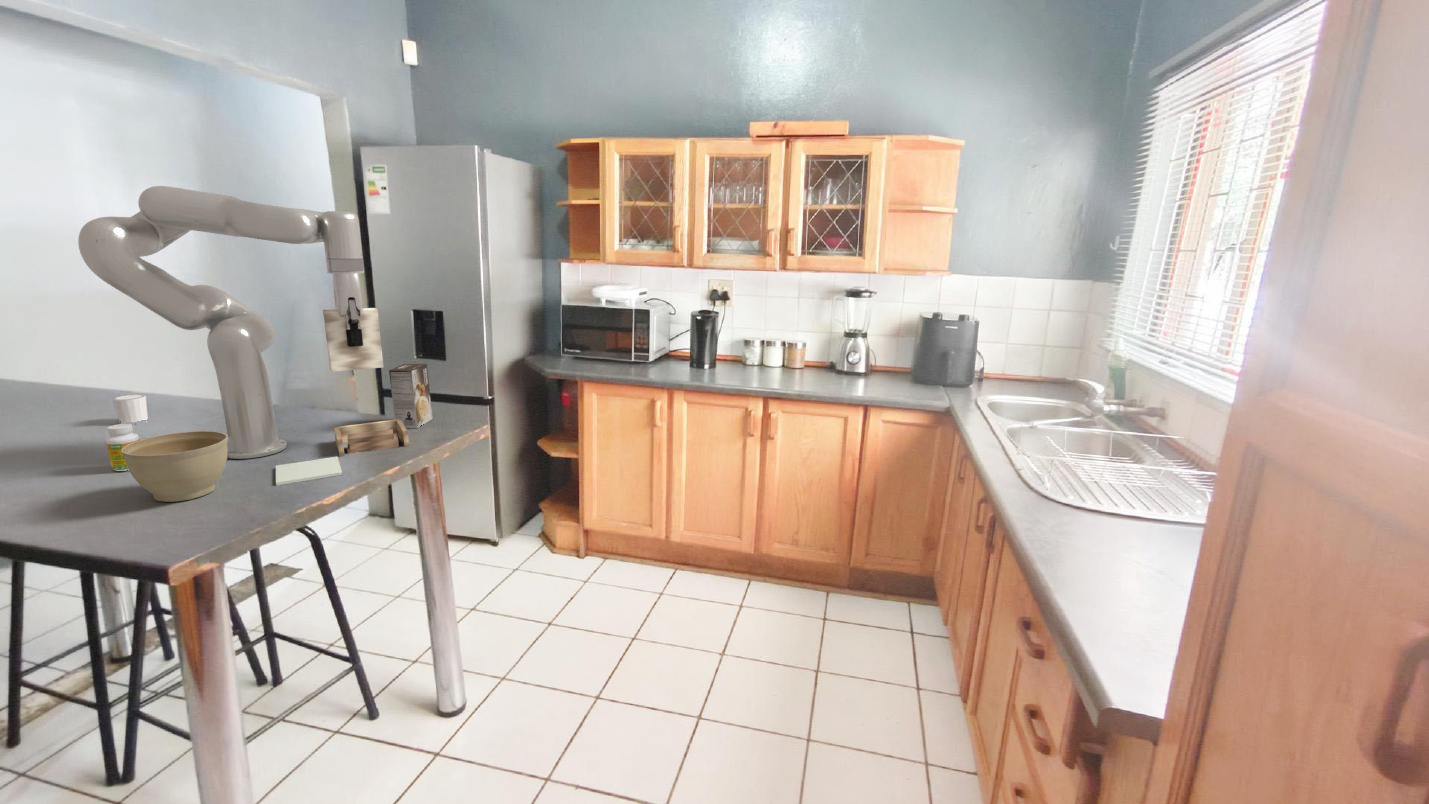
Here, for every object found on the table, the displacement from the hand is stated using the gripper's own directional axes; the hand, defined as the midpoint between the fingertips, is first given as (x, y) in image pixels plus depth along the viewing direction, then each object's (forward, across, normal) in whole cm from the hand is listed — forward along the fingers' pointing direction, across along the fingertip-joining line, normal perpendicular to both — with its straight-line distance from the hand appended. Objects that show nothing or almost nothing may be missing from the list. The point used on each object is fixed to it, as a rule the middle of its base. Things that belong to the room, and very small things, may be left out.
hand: (354, 343), depth 156 cm
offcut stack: (+25, +4, +1) cm, 26 cm away
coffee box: (+25, -13, +14) cm, 31 cm away
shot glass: (+26, -53, -50) cm, 77 cm away
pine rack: (+25, +1, +1) cm, 25 cm away
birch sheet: (+6, 0, 0) cm, 6 cm away
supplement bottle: (+26, -8, -46) cm, 53 cm away
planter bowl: (+26, +16, -34) cm, 46 cm away
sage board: (+25, +15, -13) cm, 32 cm away
